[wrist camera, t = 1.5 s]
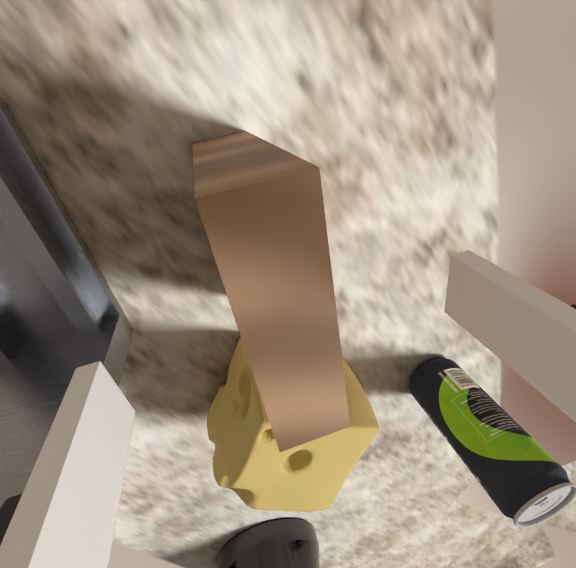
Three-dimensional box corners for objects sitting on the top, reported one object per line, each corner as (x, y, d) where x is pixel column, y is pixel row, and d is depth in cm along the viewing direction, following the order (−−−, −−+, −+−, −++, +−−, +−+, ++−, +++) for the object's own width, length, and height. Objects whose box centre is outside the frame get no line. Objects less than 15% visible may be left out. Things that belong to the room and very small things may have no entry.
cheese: (205, 411, 32) (211, 521, 23) (240, 323, 28) (262, 419, 19) (297, 416, 36) (330, 512, 27) (339, 341, 32) (392, 426, 24)
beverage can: (397, 380, 37) (503, 521, 25) (440, 345, 36) (573, 475, 24) (420, 400, 40) (524, 535, 28) (460, 369, 39) (586, 494, 27)
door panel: (280, 285, 27) (350, 426, 15) (240, 297, 26) (279, 452, 15) (245, 131, 21) (318, 167, 9) (192, 143, 20) (194, 198, 8)
